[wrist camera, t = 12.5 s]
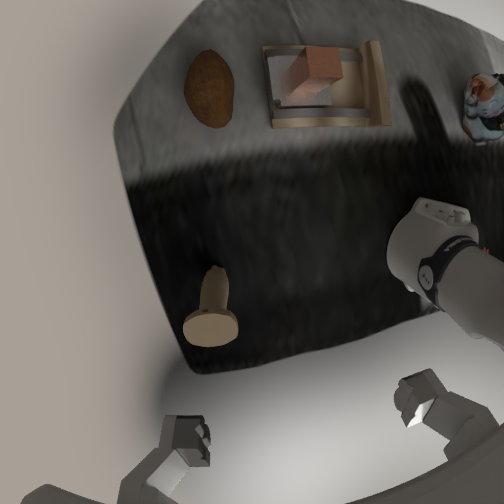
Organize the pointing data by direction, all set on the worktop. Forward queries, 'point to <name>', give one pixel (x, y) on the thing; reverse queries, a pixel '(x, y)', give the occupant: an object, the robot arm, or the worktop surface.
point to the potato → (210, 89)
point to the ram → (303, 78)
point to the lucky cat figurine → (484, 108)
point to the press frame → (342, 91)
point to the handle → (212, 313)
